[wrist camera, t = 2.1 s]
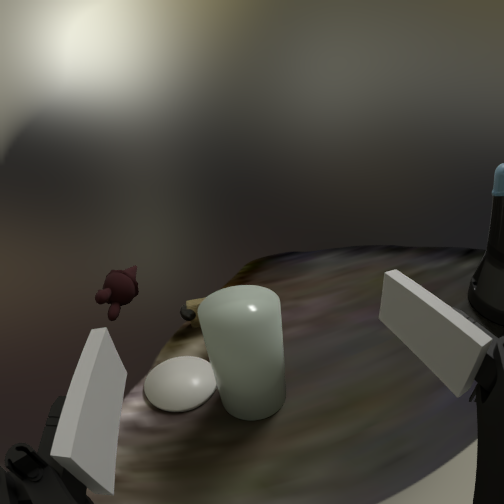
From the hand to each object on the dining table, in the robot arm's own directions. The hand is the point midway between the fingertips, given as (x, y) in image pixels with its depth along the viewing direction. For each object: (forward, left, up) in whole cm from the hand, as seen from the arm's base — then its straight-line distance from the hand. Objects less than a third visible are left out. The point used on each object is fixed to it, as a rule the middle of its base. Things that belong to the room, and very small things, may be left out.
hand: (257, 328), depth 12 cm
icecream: (+19, -38, -18) cm, 46 cm away
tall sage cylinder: (0, -11, -17) cm, 20 cm away
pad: (+8, -15, -17) cm, 24 cm away
